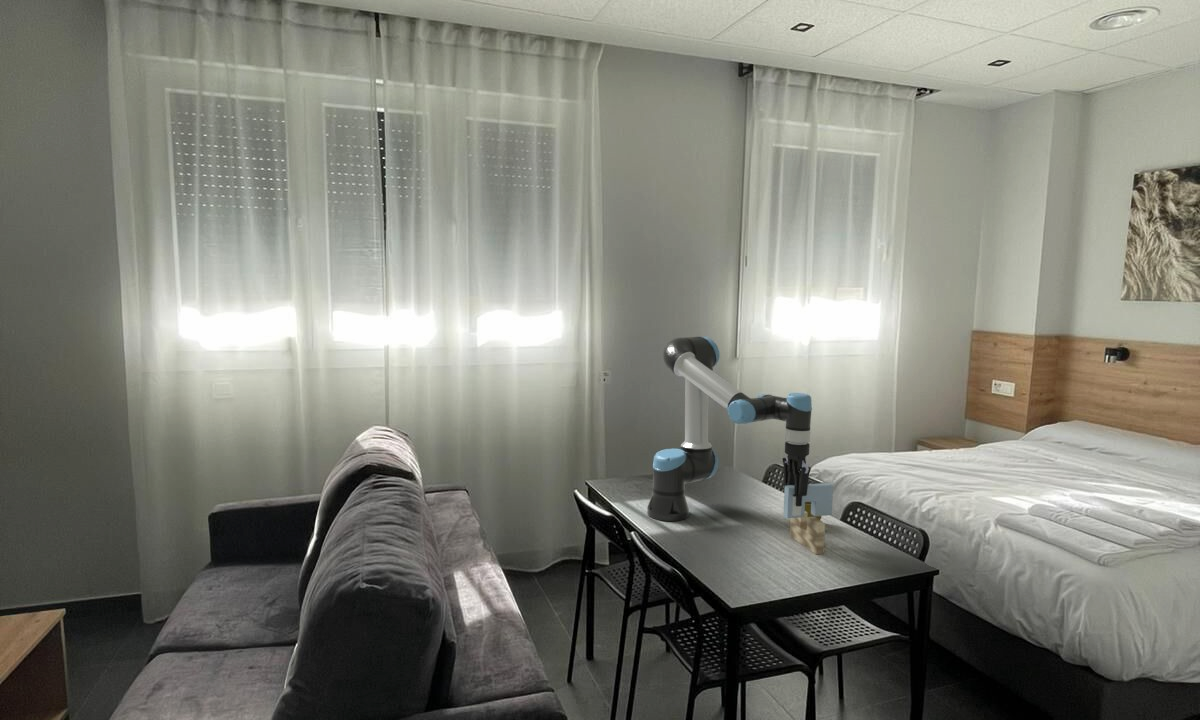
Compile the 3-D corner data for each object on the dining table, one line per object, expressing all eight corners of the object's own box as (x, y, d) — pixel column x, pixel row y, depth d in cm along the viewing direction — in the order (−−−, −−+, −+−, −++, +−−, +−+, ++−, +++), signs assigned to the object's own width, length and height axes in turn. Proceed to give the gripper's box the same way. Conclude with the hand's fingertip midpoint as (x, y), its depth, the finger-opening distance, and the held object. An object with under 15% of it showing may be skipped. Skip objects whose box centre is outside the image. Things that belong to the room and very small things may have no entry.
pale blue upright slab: (787, 518, 208) (788, 487, 207) (783, 515, 210) (784, 485, 209) (831, 515, 212) (833, 485, 211) (827, 512, 214) (828, 482, 213)
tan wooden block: (823, 554, 205) (825, 523, 204) (816, 554, 204) (817, 523, 203) (796, 535, 220) (797, 506, 219) (789, 535, 219) (791, 507, 218)
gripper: (821, 447, 201) (817, 521, 203) (795, 436, 216) (791, 505, 218) (799, 448, 199) (796, 522, 201) (774, 437, 214) (771, 506, 216)
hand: (793, 513), depth 210 cm, fingers closed on pale blue upright slab, 2 cm apart
